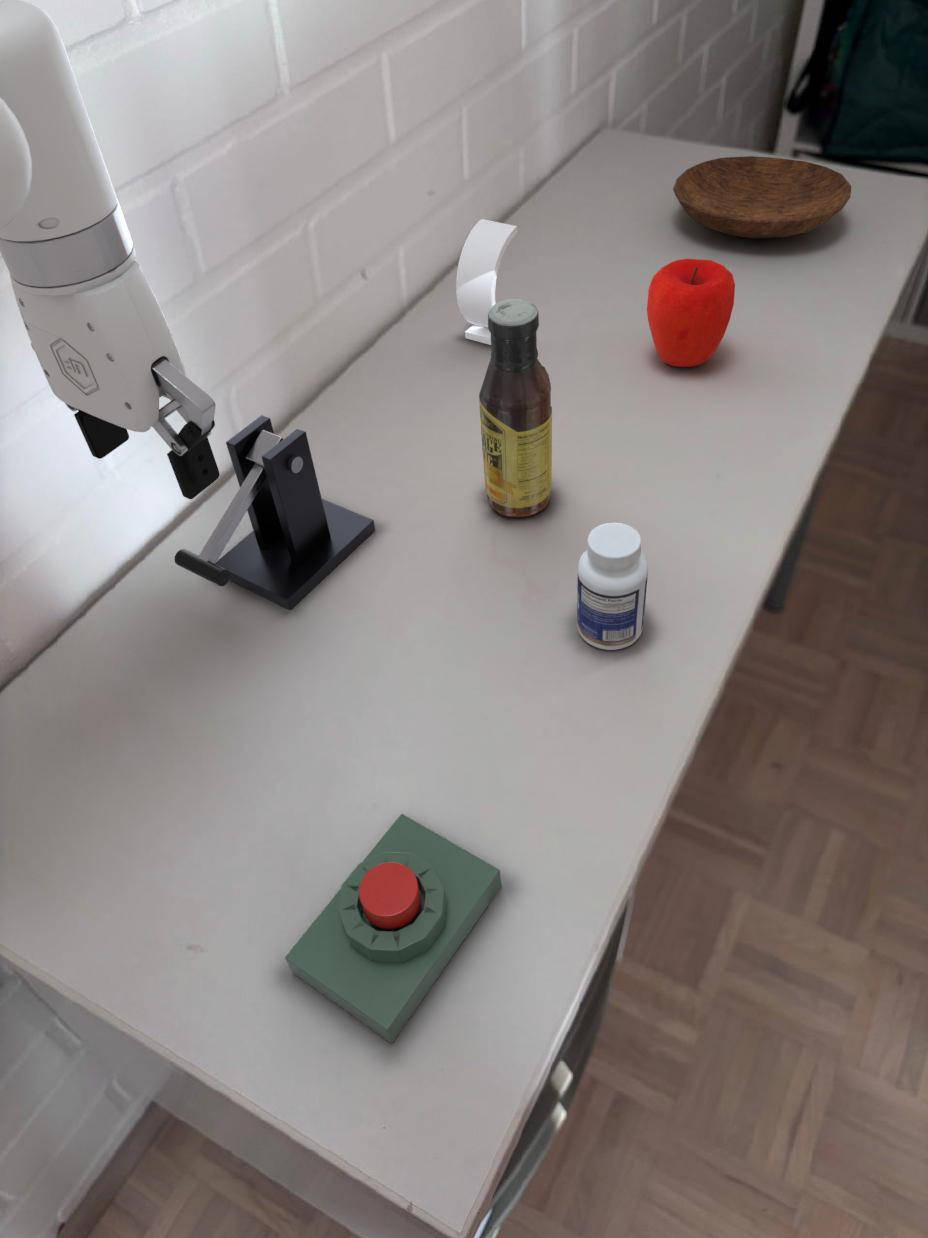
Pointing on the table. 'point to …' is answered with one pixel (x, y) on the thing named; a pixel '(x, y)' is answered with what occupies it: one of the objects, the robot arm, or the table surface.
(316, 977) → the button box
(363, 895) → the button
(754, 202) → the bowl
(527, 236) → the table surface
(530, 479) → the sauce bottle
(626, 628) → the pill bottle
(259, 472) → the lever
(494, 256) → the headphone stand
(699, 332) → the apple
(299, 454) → the bracket
